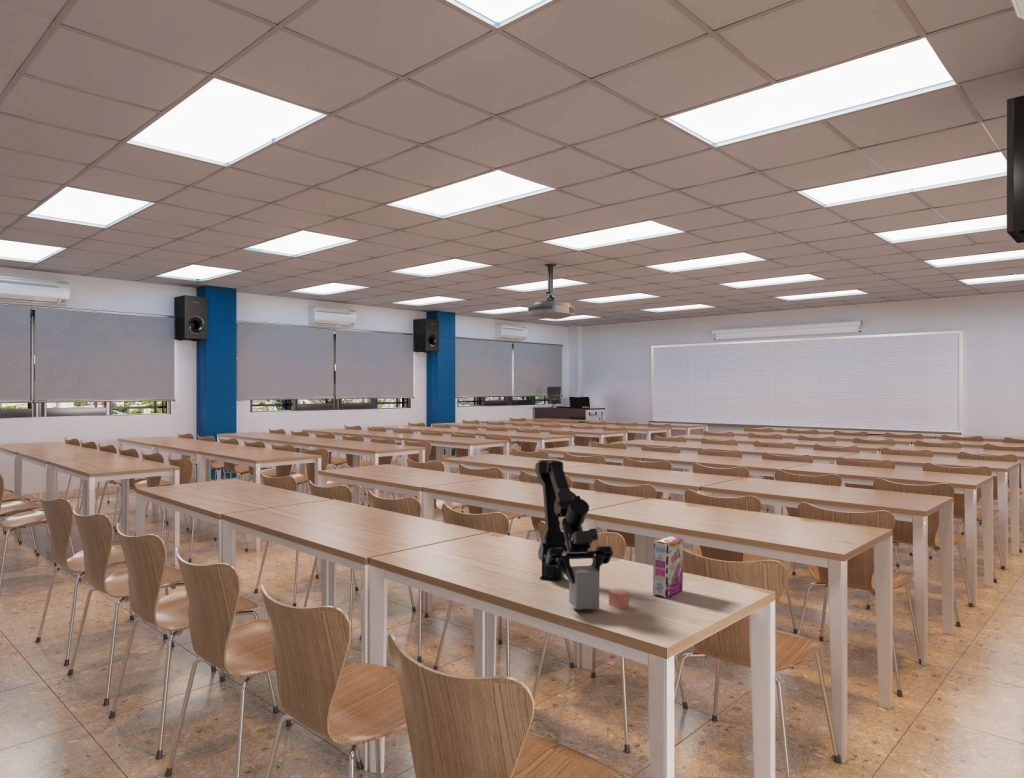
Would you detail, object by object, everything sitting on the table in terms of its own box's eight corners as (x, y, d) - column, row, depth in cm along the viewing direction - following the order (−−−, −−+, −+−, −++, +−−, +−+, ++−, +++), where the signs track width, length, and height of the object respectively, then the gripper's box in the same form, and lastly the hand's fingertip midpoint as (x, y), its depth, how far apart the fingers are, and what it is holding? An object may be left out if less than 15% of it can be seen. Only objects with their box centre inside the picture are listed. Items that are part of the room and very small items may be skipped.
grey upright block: (569, 602, 181) (569, 566, 181) (591, 600, 182) (591, 565, 182) (576, 609, 174) (576, 572, 174) (599, 608, 176) (599, 571, 176)
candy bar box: (667, 599, 189) (668, 543, 190) (652, 595, 192) (652, 541, 193) (683, 590, 198) (684, 537, 198) (668, 587, 201) (669, 535, 201)
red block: (608, 605, 183) (608, 591, 183) (619, 603, 185) (619, 589, 185) (618, 609, 179) (618, 594, 180) (628, 606, 182) (628, 592, 182)
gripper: (548, 519, 181) (559, 568, 169) (610, 517, 184) (625, 565, 173) (541, 541, 188) (551, 589, 177) (601, 539, 192) (614, 586, 181)
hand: (585, 582), depth 177 cm, fingers closed on grey upright block, 7 cm apart
